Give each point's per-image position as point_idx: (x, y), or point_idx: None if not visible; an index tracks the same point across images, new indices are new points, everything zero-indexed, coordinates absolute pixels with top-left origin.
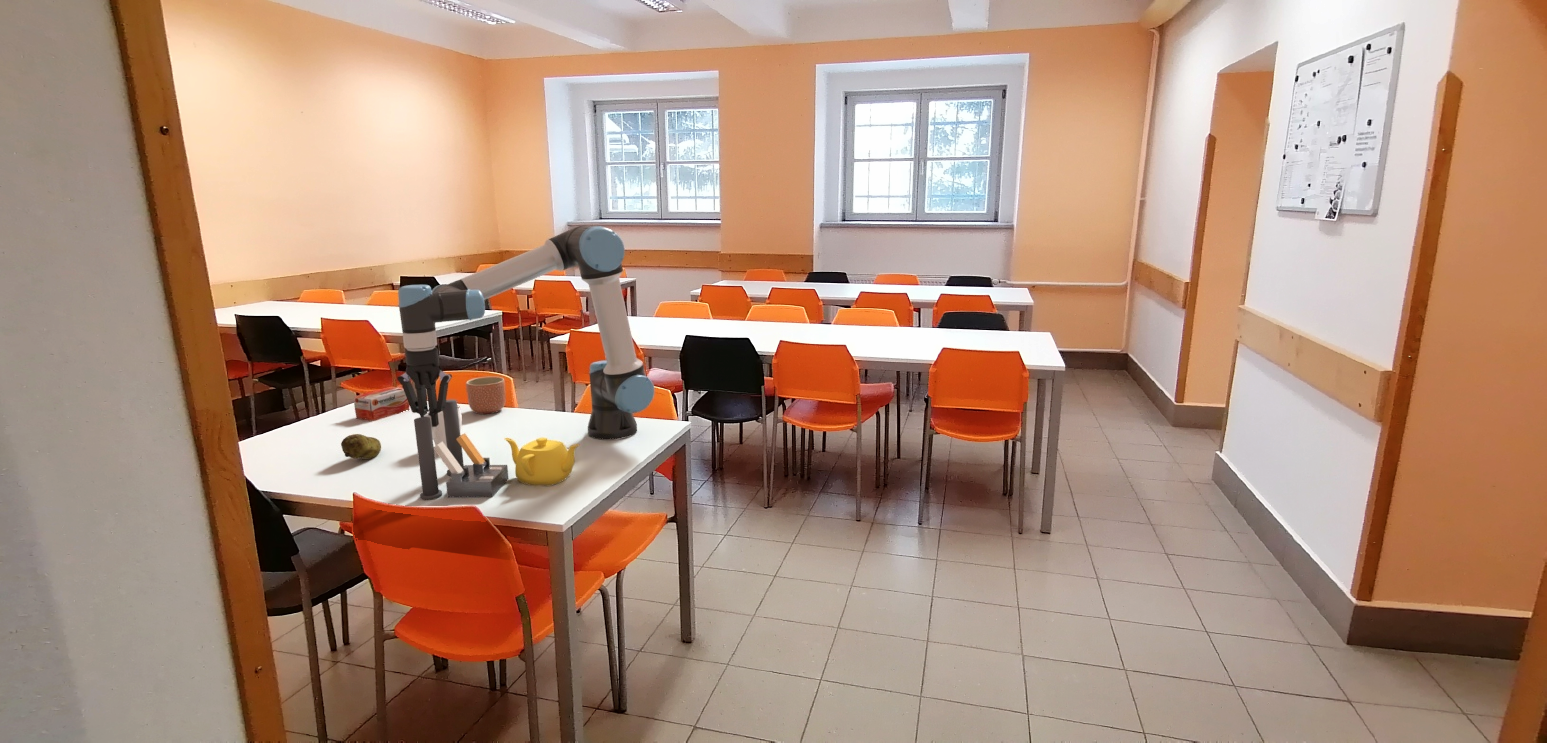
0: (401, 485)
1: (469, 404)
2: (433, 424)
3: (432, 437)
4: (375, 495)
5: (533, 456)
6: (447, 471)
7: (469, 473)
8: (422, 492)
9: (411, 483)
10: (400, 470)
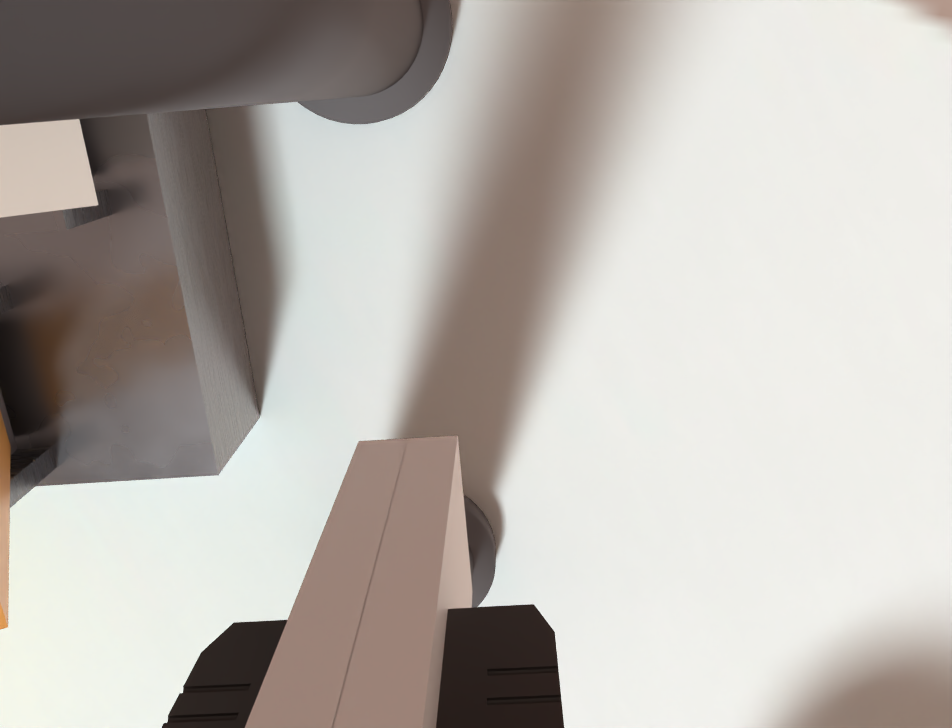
0: (763, 265)
1: None
2: (269, 653)
3: (354, 472)
4: (903, 10)
5: None
6: (480, 529)
7: (33, 256)
8: (444, 34)
9: (694, 314)
10: (921, 581)
